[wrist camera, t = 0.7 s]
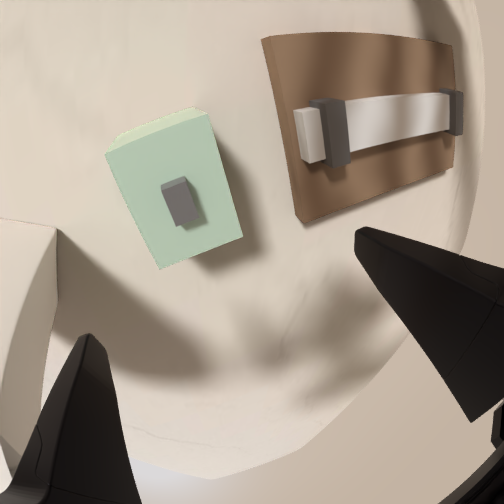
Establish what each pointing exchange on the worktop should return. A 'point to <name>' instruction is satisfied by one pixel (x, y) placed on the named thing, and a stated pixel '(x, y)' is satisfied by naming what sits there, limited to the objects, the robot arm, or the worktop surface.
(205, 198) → the block
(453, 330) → the robot arm
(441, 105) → the rail board
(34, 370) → the milk carton
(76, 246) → the worktop surface
